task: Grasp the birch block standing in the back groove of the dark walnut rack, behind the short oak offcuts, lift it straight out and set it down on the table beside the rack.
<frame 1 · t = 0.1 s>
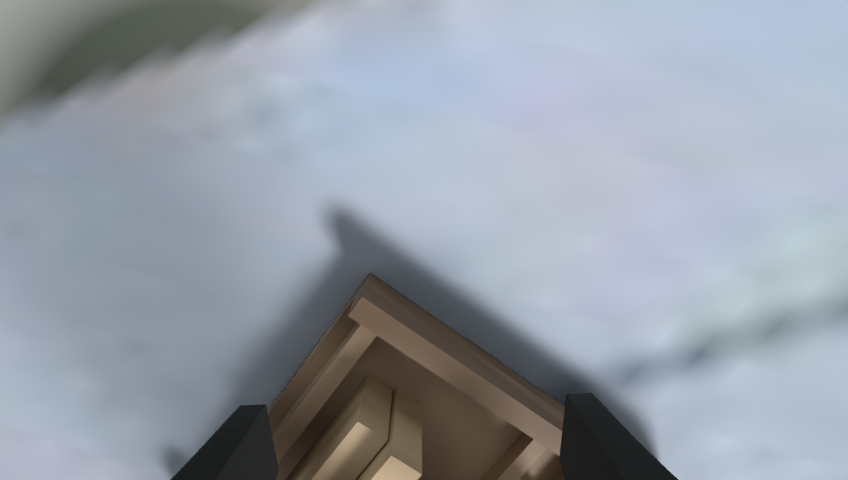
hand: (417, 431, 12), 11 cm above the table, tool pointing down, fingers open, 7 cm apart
oak offcuts: (341, 456, 23), point 1 cm above the table, touching walnut rack
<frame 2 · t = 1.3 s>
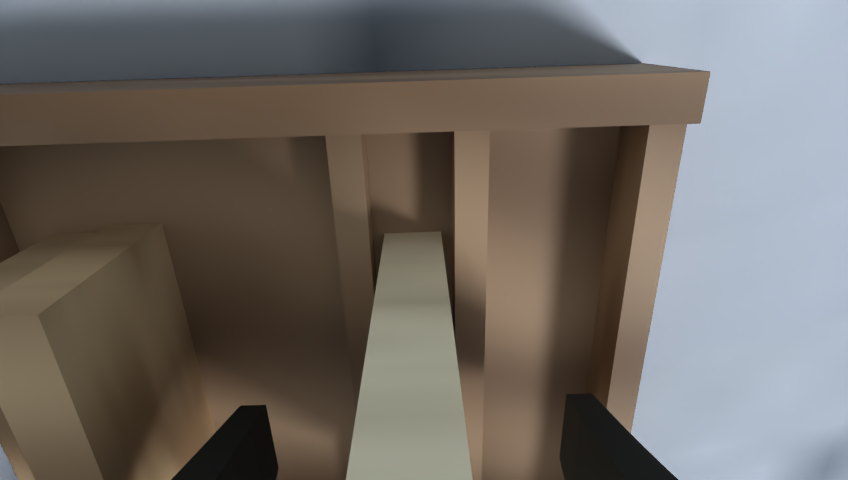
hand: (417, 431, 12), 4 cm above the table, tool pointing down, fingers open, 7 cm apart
walnut rack: (323, 340, 15), on the table
birch block: (417, 356, 14), point 1 cm above the table, touching walnut rack
oak offcuts: (149, 365, 14), point 1 cm above the table, touching walnut rack
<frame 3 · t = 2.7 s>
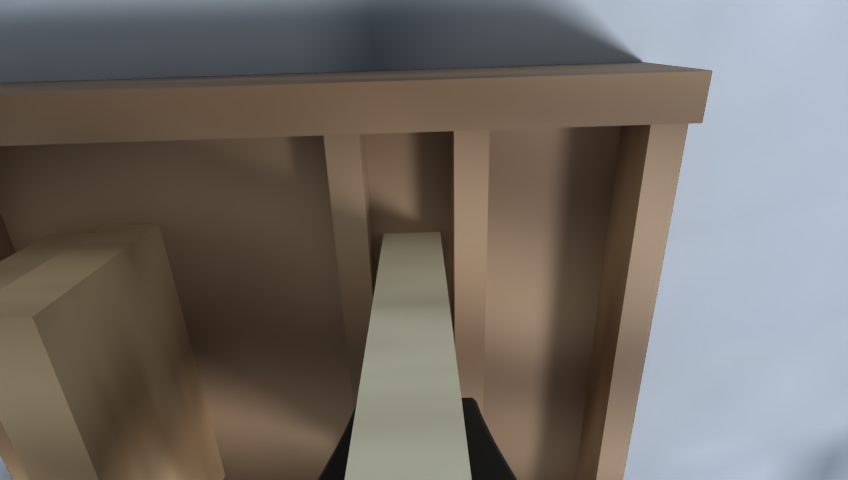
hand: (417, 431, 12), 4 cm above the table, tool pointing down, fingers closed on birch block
walnut rack: (322, 341, 15), on the table
birch block: (417, 357, 14), point 1 cm above the table, touching gripper, walnut rack
oak offcuts: (147, 366, 14), point 1 cm above the table, touching walnut rack
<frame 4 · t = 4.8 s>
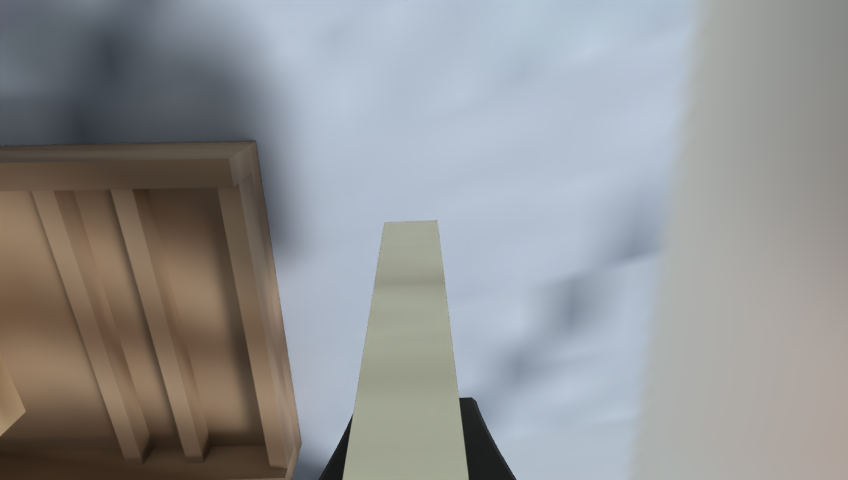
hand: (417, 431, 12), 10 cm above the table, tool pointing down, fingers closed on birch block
walnut rack: (86, 318, 22), on the table
birch block: (416, 340, 15), point 7 cm above the table, touching gripper
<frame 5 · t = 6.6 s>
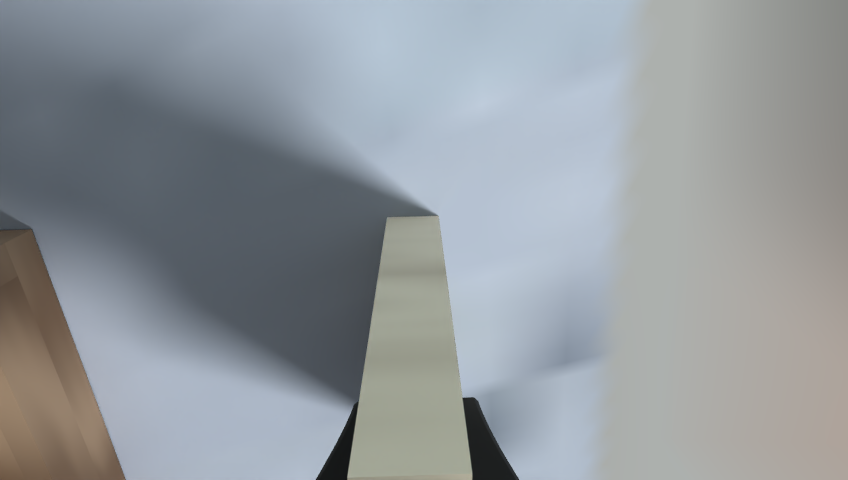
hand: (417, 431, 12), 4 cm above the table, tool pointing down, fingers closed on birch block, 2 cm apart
birch block: (416, 332, 16), on the table, touching gripper
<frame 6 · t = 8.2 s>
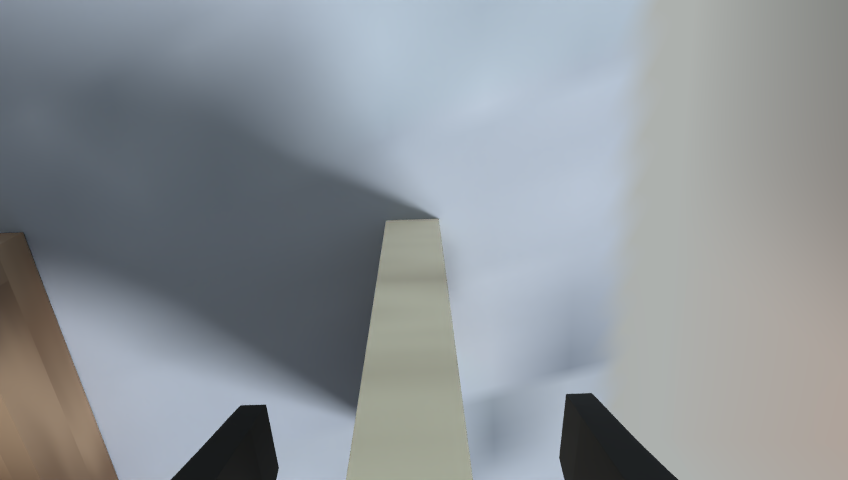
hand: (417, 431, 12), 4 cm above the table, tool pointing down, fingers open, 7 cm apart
birch block: (417, 337, 15), on the table
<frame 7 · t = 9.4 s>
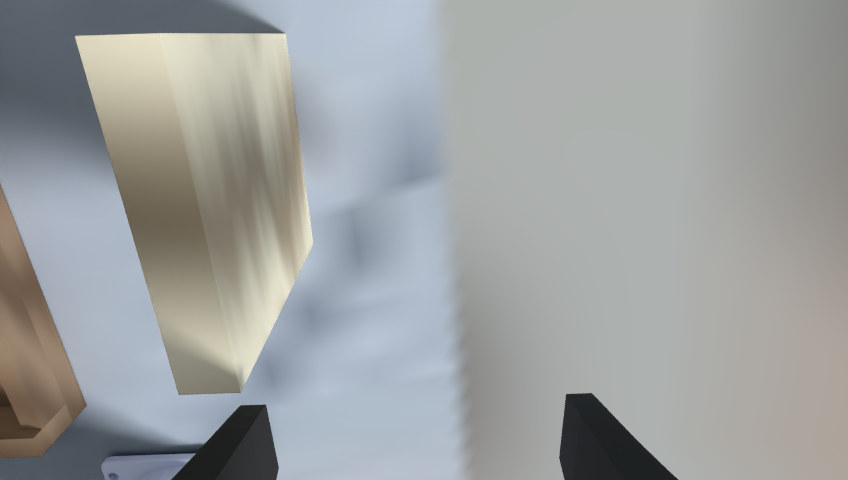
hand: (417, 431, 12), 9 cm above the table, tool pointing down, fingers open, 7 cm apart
birch block: (281, 148, 18), on the table
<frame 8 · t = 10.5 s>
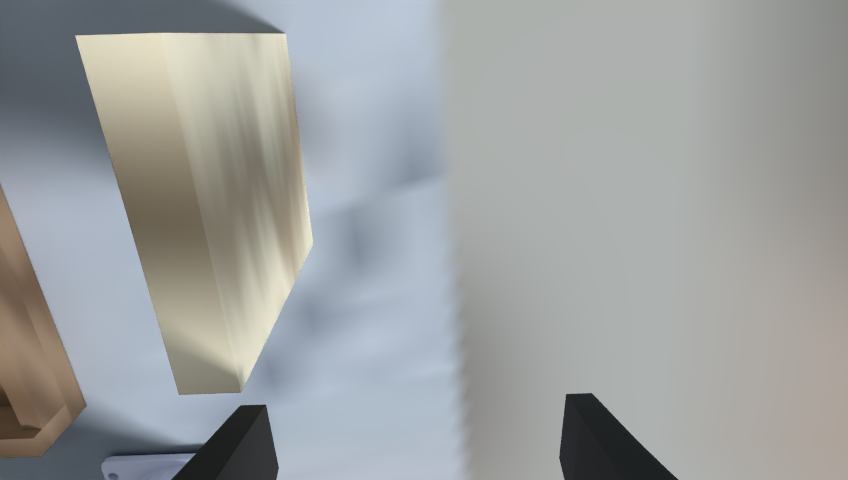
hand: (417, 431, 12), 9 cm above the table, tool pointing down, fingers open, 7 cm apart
birch block: (281, 148, 18), on the table
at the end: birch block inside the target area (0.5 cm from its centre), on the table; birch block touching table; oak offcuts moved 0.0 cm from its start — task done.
